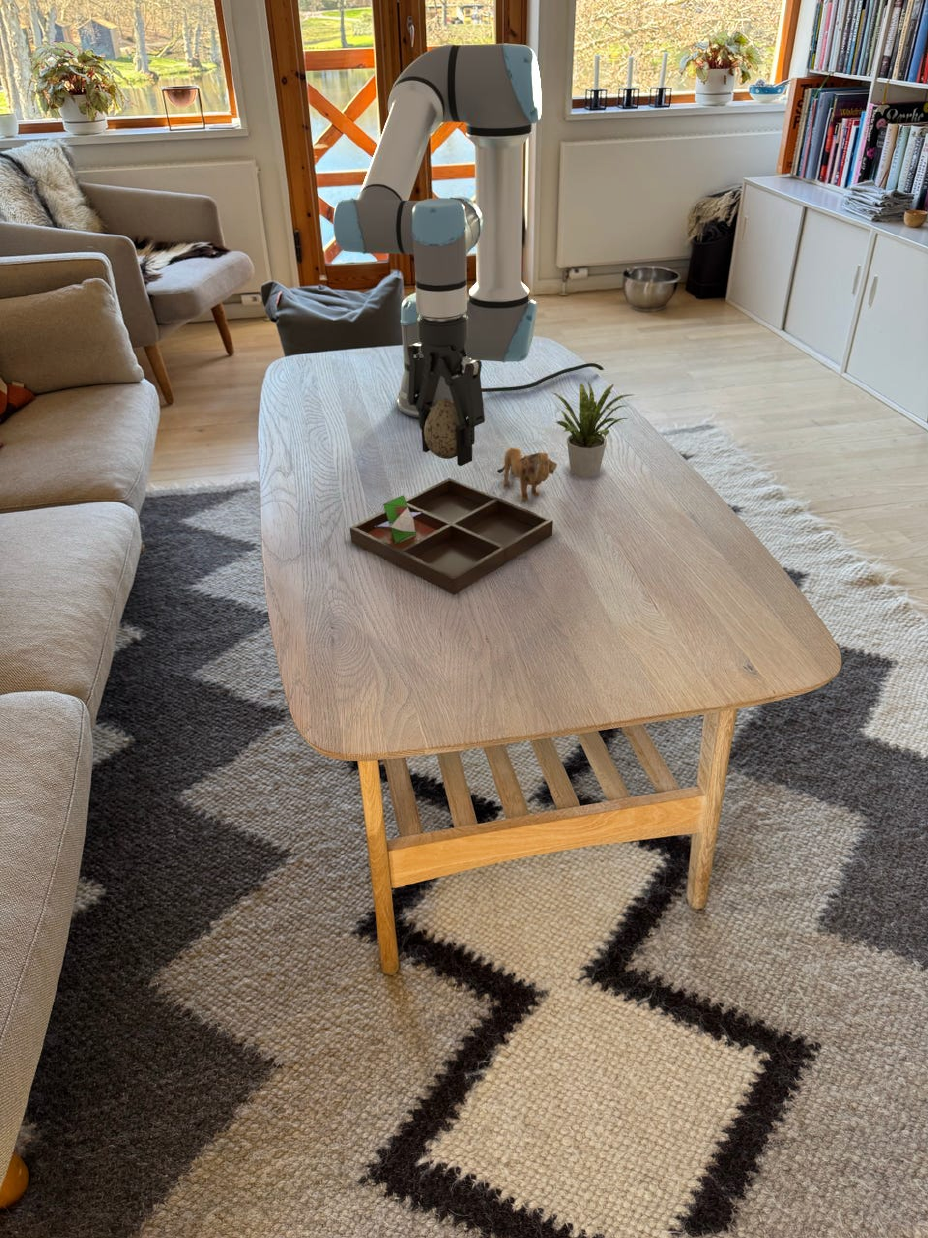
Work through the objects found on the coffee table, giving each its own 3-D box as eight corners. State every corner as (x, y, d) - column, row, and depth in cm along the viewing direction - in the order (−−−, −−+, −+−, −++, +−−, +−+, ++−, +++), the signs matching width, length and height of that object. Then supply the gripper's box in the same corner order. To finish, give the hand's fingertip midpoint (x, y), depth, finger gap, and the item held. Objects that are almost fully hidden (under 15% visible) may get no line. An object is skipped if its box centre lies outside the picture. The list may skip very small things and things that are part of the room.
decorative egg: (462, 444, 157) (460, 387, 151) (475, 462, 151) (474, 403, 145) (420, 451, 155) (417, 393, 149) (432, 469, 149) (429, 410, 144)
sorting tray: (449, 491, 166) (449, 477, 164) (552, 535, 153) (552, 520, 151) (350, 542, 152) (349, 527, 151) (454, 595, 139) (453, 579, 138)
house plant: (647, 478, 169) (656, 390, 159) (586, 498, 163) (591, 409, 153) (597, 449, 179) (602, 366, 169) (537, 468, 173) (539, 382, 163)
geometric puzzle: (362, 520, 152) (377, 495, 146) (396, 506, 156) (412, 481, 149) (386, 556, 151) (403, 533, 145) (419, 541, 155) (437, 517, 148)
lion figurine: (559, 500, 162) (561, 453, 157) (535, 509, 160) (536, 461, 155) (508, 470, 172) (508, 424, 167) (484, 478, 170) (484, 431, 165)
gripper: (509, 321, 136) (509, 465, 149) (413, 295, 148) (420, 431, 161) (474, 334, 132) (477, 482, 145) (377, 306, 143) (388, 446, 156)
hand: (447, 455), depth 153 cm, fingers closed on decorative egg, 7 cm apart
